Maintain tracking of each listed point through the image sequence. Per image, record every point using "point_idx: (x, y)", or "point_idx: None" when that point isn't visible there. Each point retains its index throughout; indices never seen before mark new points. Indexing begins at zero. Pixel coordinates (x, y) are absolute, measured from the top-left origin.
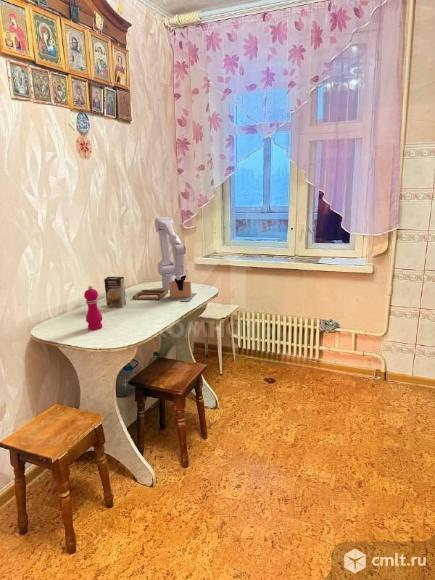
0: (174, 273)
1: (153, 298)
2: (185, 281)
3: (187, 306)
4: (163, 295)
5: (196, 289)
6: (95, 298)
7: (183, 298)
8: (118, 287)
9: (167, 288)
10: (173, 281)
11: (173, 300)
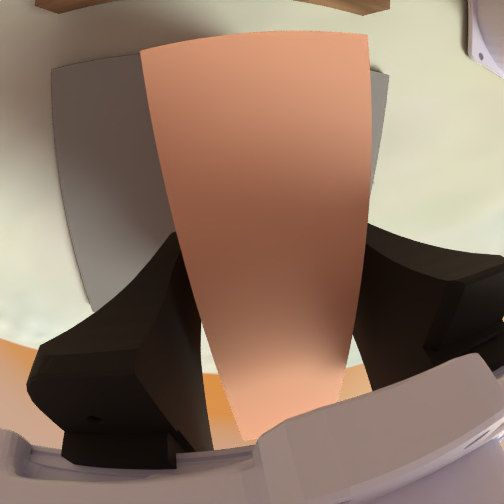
0: (464, 449)
1: None
2: (252, 407)
3: (12, 317)
4: None
5: (462, 250)
6: None
7: (160, 242)
8: None
9: (484, 15)
10: (250, 180)
11: (68, 164)
